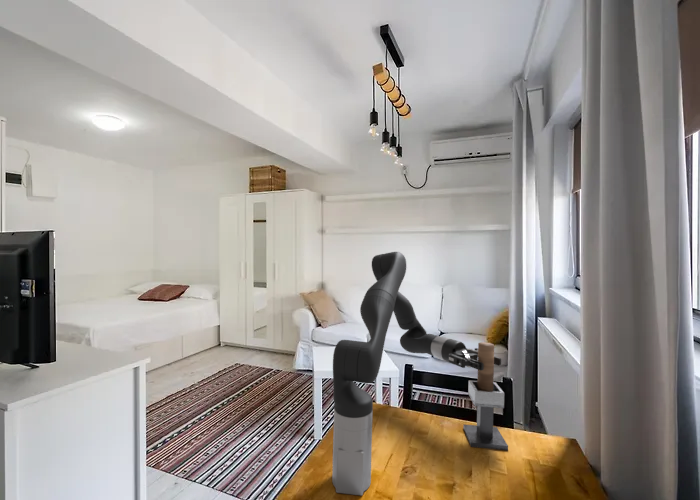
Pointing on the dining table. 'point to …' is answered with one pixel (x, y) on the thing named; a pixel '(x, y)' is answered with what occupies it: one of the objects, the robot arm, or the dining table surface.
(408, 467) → the dining table surface
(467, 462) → the dining table surface
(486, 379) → the walnut rail post
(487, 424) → the stand
